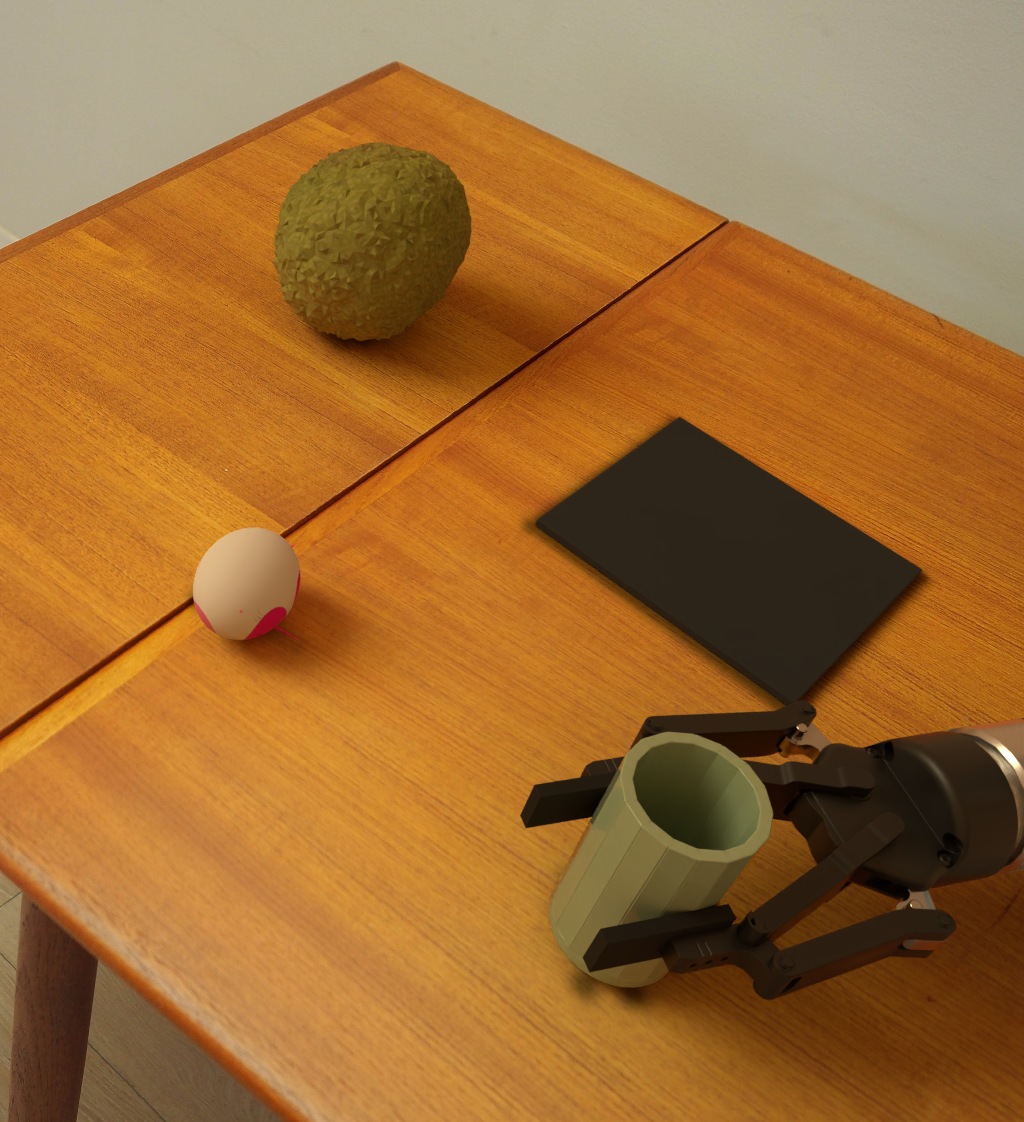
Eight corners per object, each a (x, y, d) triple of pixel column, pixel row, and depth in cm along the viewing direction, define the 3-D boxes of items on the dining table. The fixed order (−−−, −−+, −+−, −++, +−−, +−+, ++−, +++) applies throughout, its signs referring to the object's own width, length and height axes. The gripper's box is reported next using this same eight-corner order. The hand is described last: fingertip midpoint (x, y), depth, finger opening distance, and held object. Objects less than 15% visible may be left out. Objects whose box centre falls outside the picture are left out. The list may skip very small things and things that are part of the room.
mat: (919, 575, 87) (923, 569, 87) (791, 709, 78) (795, 703, 77) (677, 422, 96) (679, 416, 96) (534, 525, 86) (536, 519, 86)
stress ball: (233, 699, 77) (297, 674, 72) (144, 604, 75) (204, 571, 70) (294, 619, 82) (359, 590, 77) (212, 528, 80) (272, 491, 75)
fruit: (250, 245, 106) (350, 83, 99) (393, 338, 108) (500, 185, 102) (225, 298, 91) (339, 112, 85) (390, 403, 94) (514, 230, 87)
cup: (704, 931, 66) (800, 802, 57) (631, 1015, 62) (721, 891, 53) (598, 843, 69) (674, 707, 60) (522, 918, 65) (591, 785, 56)
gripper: (1050, 1018, 61) (626, 1119, 55) (831, 695, 74) (468, 749, 68) (1145, 944, 56) (686, 1048, 50) (891, 610, 69) (503, 661, 63)
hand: (561, 875), depth 59 cm, fingers closed on cup, 7 cm apart
